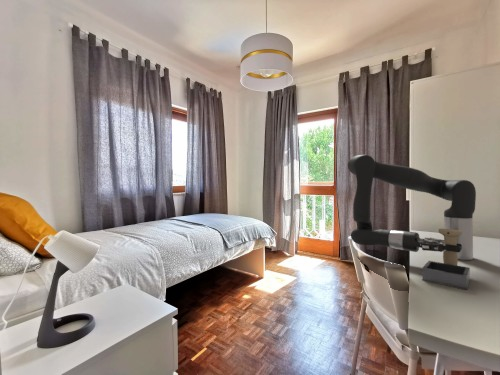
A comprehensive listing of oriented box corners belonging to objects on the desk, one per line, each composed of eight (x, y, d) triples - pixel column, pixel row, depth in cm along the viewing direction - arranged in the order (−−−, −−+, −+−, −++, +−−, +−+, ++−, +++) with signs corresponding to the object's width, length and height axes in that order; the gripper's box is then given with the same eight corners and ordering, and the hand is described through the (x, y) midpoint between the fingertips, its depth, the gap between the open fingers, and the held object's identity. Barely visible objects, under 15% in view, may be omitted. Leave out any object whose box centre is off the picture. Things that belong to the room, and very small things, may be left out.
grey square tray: (429, 271, 85) (428, 260, 85) (469, 279, 77) (469, 267, 77) (422, 280, 77) (422, 267, 77) (467, 290, 69) (466, 276, 69)
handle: (460, 276, 80) (460, 232, 80) (437, 270, 85) (436, 229, 85) (463, 272, 83) (463, 230, 83) (441, 268, 88) (440, 228, 88)
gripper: (398, 233, 90) (458, 240, 77) (408, 228, 100) (463, 234, 87) (398, 253, 90) (458, 263, 77) (408, 246, 100) (463, 254, 87)
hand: (460, 248), depth 82 cm, fingers closed on handle, 3 cm apart
